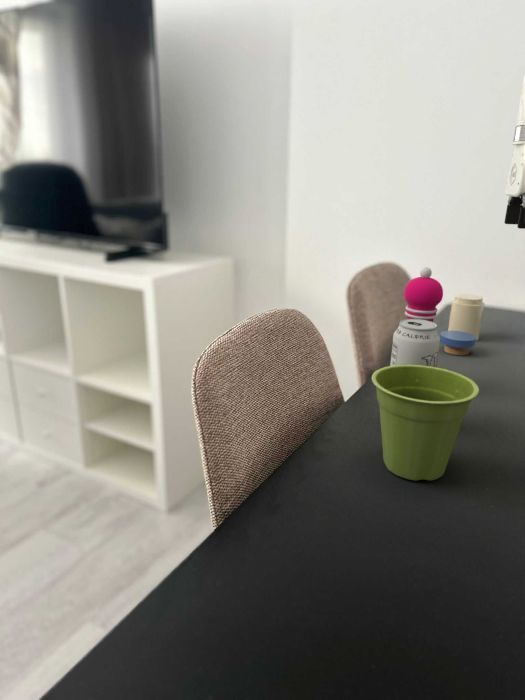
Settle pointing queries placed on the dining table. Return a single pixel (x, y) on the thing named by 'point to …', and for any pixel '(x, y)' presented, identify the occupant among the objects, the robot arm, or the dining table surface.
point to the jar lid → (457, 339)
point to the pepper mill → (423, 297)
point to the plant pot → (420, 417)
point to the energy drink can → (415, 343)
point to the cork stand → (456, 350)
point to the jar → (466, 314)
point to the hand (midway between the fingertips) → (518, 226)
